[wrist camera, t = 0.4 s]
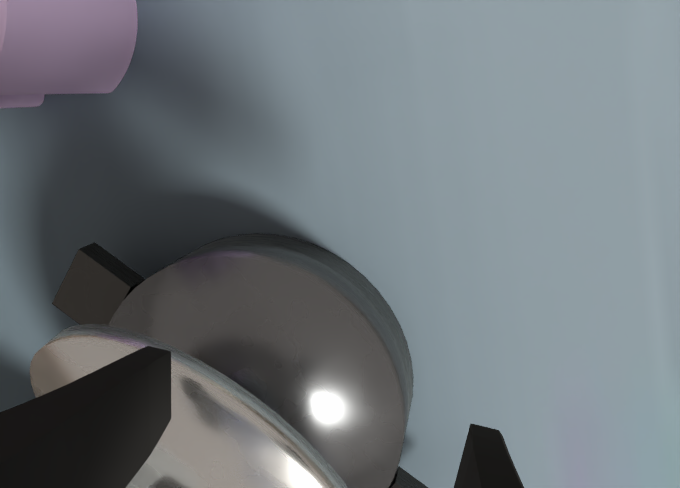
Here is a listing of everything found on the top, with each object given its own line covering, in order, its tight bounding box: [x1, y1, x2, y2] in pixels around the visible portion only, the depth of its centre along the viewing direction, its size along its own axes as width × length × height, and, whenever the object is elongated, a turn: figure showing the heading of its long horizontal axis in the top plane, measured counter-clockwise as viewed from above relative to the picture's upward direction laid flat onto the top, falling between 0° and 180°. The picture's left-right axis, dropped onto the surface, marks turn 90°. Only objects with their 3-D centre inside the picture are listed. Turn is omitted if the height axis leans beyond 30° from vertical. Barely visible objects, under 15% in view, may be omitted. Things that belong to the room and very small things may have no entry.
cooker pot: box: [52, 233, 428, 488], centre depth 24 cm, size 14×18×4 cm
